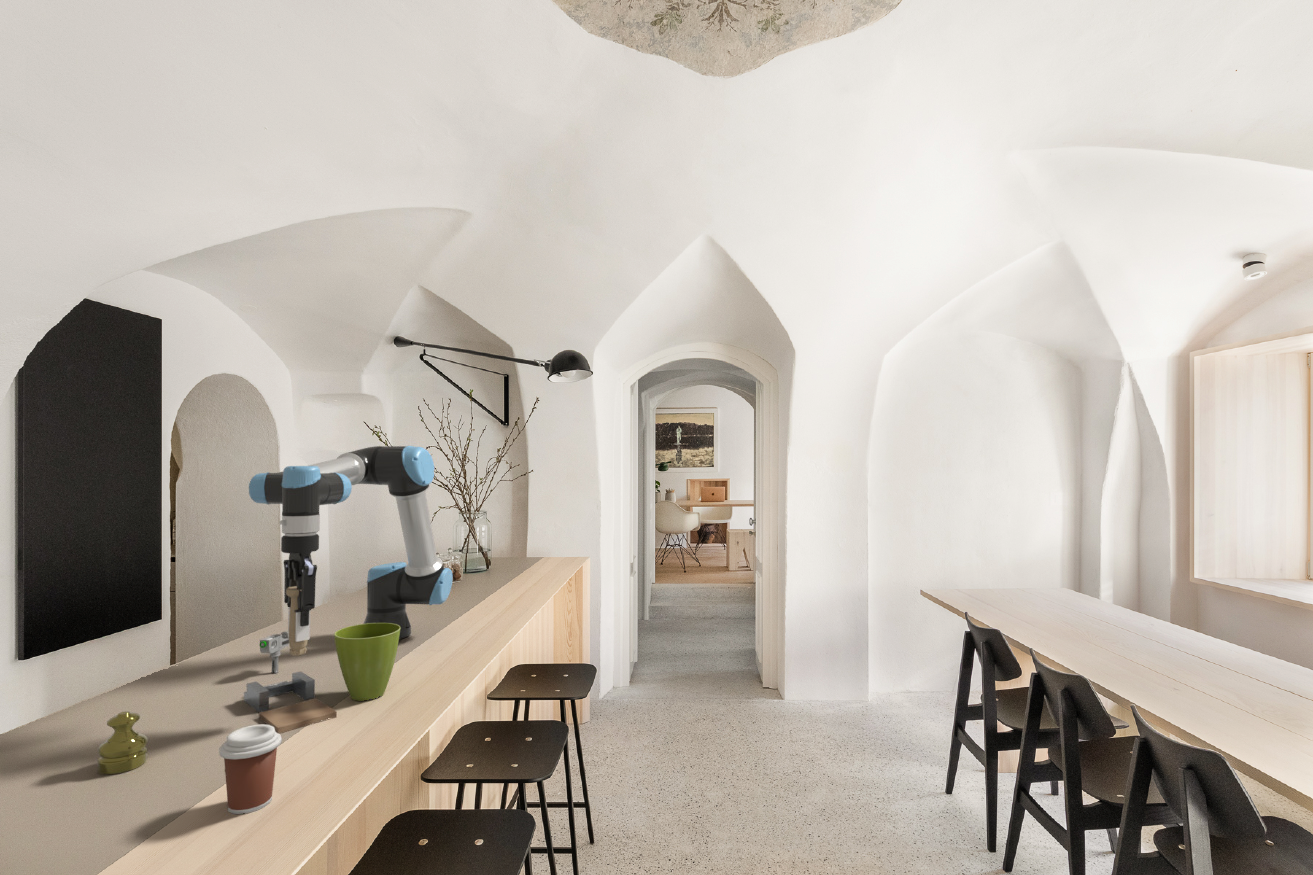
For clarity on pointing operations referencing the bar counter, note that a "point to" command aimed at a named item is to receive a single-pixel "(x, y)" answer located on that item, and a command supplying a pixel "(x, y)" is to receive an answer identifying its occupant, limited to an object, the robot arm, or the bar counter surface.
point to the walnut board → (297, 715)
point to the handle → (294, 624)
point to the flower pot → (367, 657)
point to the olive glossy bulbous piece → (122, 746)
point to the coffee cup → (250, 767)
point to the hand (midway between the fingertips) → (298, 637)
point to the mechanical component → (274, 647)
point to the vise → (279, 691)
